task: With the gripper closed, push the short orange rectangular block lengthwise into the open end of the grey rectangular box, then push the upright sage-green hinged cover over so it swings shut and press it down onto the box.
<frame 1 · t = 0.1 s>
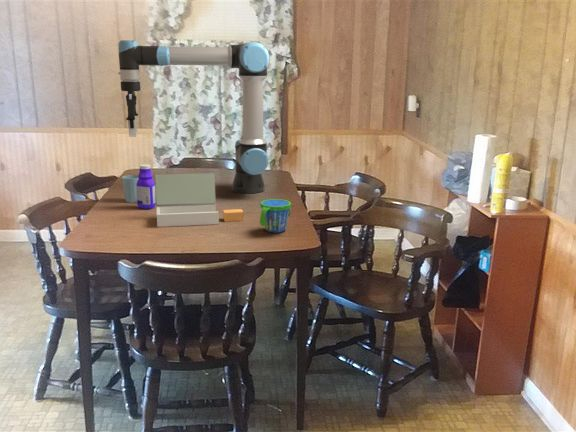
hand: (133, 134, 237), 28 cm above the table, fingers open, 13 cm apart
snack cup: (275, 230, 208), on the table
grey rectangular box: (187, 220, 217), on the table
cover: (185, 189, 221), point 10 cm above the table, hinge at 100.0°
cup: (132, 201, 245), on the table
orange rectangular block: (233, 220, 220), on the table
mug: (171, 202, 244), on the table
bottle: (146, 208, 235), on the table
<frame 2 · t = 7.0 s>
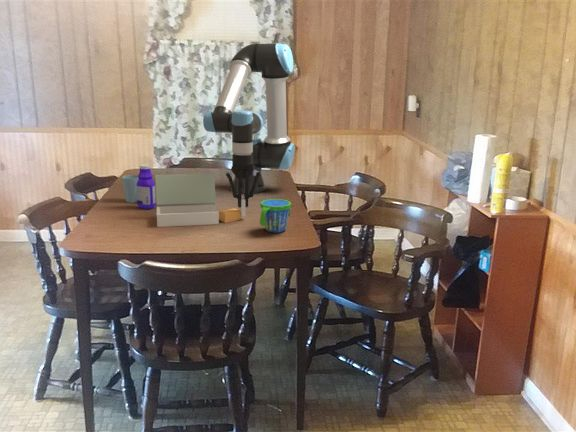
hand: (243, 215, 220), 1 cm above the table, fingers closed
orange rectangular block: (230, 220, 220), on the table, touching gripper
everything else where it was.
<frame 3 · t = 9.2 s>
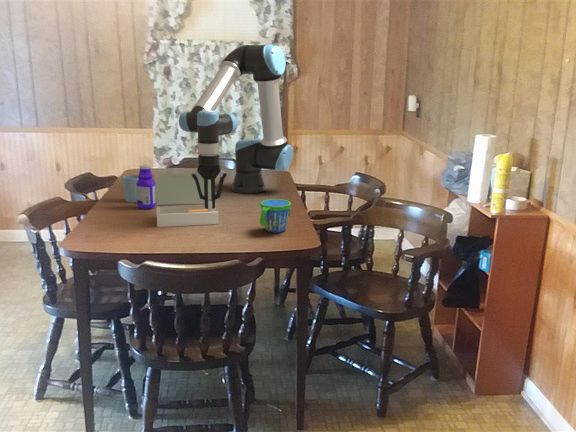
hand: (210, 216, 218), 1 cm above the table, fingers closed
orange rectangular block: (198, 220, 219), on the table
everything else where it was.
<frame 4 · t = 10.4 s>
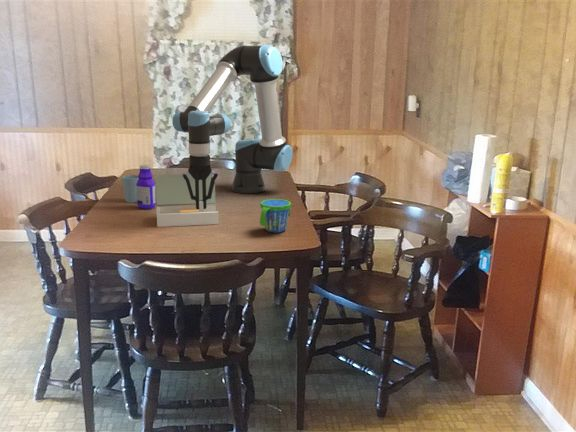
hand: (201, 217, 217), 1 cm above the table, fingers closed
orange rectangular block: (189, 220, 219), on the table, touching gripper
everything else where it was.
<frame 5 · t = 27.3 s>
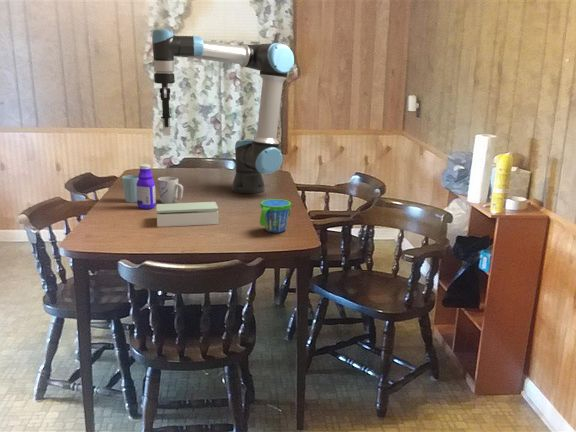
hand: (166, 135, 226), 29 cm above the table, fingers closed
cover: (187, 207, 216), point 5 cm above the table, hinge at 2.0°
orange rectangular block: (188, 220, 219), on the table
everything else where it was.
at the end: cover at +2° (first picture: +100°); orange rectangular block inside the target area on the grey rectangular box (1.6 cm from its centre), point 0.0 cm above the grey rectangular box's base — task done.
